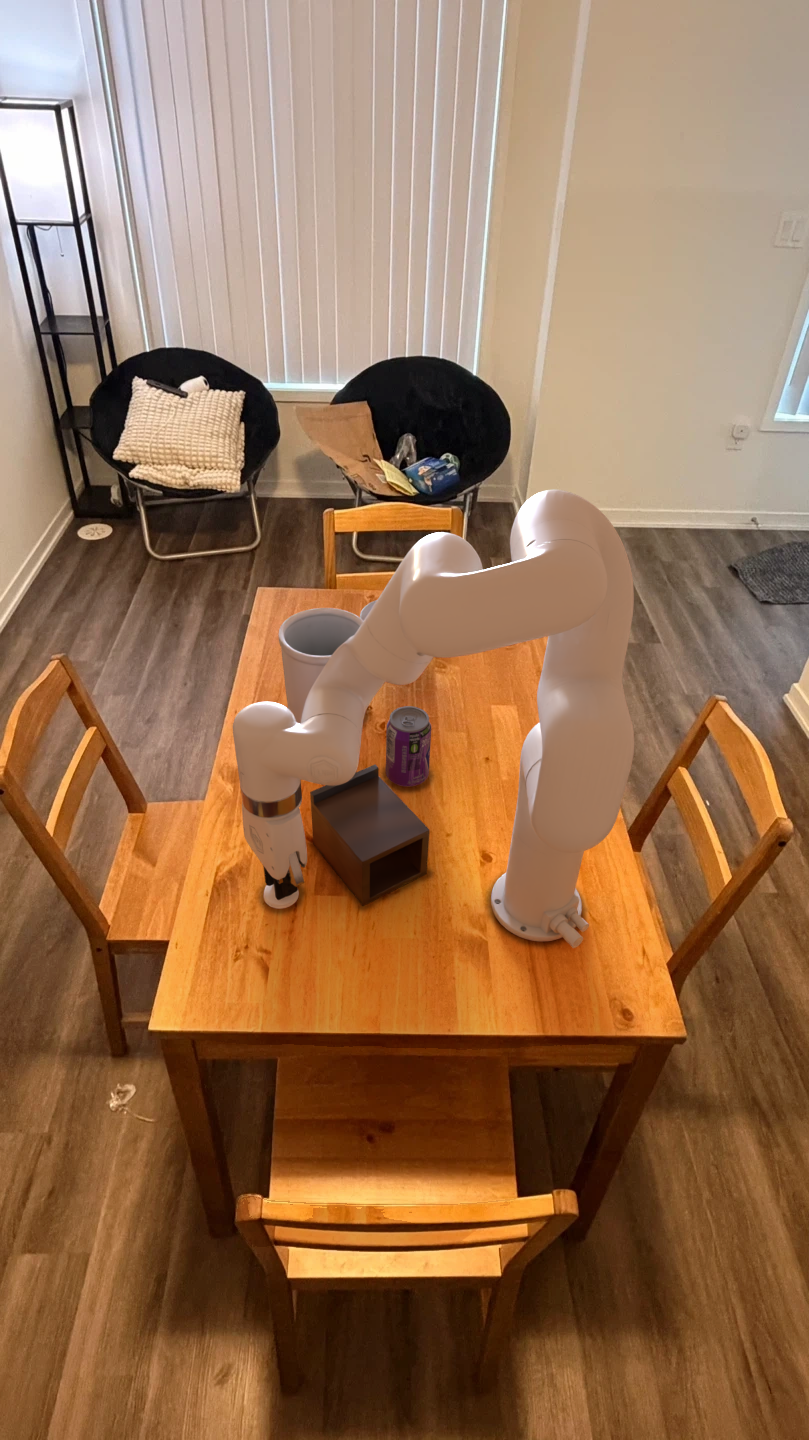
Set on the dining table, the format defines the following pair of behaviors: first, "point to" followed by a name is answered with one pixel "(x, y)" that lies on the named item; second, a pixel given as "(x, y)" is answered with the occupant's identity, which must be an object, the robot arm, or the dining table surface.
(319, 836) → the open box
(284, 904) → the chess piece
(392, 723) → the beverage can
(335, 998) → the dining table surface
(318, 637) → the utensil holder
